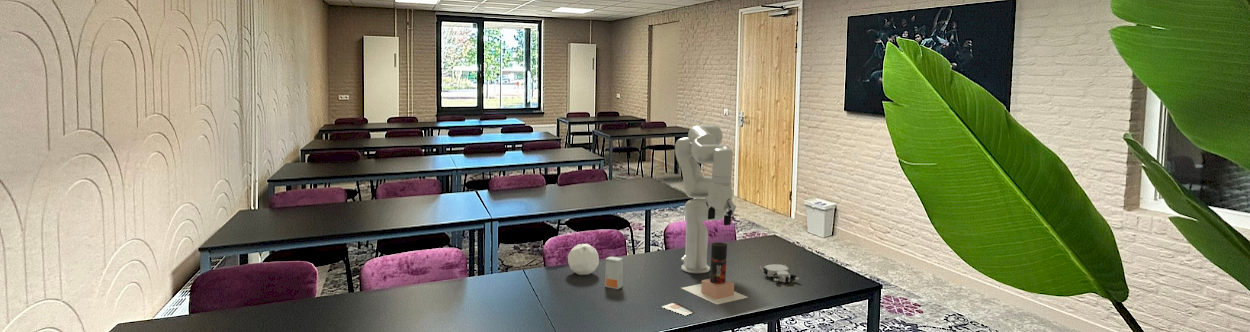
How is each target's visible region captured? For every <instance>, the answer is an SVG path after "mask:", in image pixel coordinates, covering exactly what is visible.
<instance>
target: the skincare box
mask: <svg viewBox="0 0 1250 332" xmlns="http://www.w3.org/2000/svg"><path fill="white" fill-rule="evenodd" d="M623 270H624V258H623V257H618V256H608V257H606V258H605V277H604V281H605V282H604V286H605V287H606V288H610V289H614V290H619V289H621V288H623V277H624V275H623V274H624V273H623V272H624V271H623Z"/></svg>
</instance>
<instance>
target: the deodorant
mask: <svg viewBox="0 0 1250 332" xmlns="http://www.w3.org/2000/svg"><path fill="white" fill-rule="evenodd" d="M727 251H728V244H727V243H725V242H712V243H711V255H710V274H709V275H710V278H709V279H710V282H711V283H714V284H724V283H725V280H726V277H727V276H726V275H727V273H726V272H727Z"/></svg>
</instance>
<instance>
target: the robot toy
mask: <svg viewBox="0 0 1250 332" xmlns="http://www.w3.org/2000/svg"><path fill="white" fill-rule="evenodd" d="M759 268H760V270H761V271H762V273H763V274H765V276H767V277H768V278H773V281H774V282H779V283H789V282H790V281H791V280H792V281H799V280H800V277H798V276H797V275H796V274H792V273H791V274H790V268H789V267H788V266H787V265H786V264H784V265H783V264H780V263H779V264H768V265H767V264H766V265H765V266H763V268H762V266H761V265H760V266H759Z"/></svg>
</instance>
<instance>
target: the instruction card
mask: <svg viewBox="0 0 1250 332" xmlns="http://www.w3.org/2000/svg"><path fill="white" fill-rule="evenodd" d="M661 307H662V309H664V308H665V309H664V310H667V311H669V310H671V311H670V312H672V311H673V313H675V312H676V313H675V314H677V313H679V314H678V315H680V314H682V315H681V316H683V315H684V316H683V317H687V315H688V316H690V315H689V314H691V315H693V314H696V313H695V312H696V311H694V310H693V309H689V308H688V307H686V306H684V305H682V304H680V303H678V302H676V301H675V302H672V303H669V304H665V305H662V306H661ZM692 313H693V314H692Z"/></svg>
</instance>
